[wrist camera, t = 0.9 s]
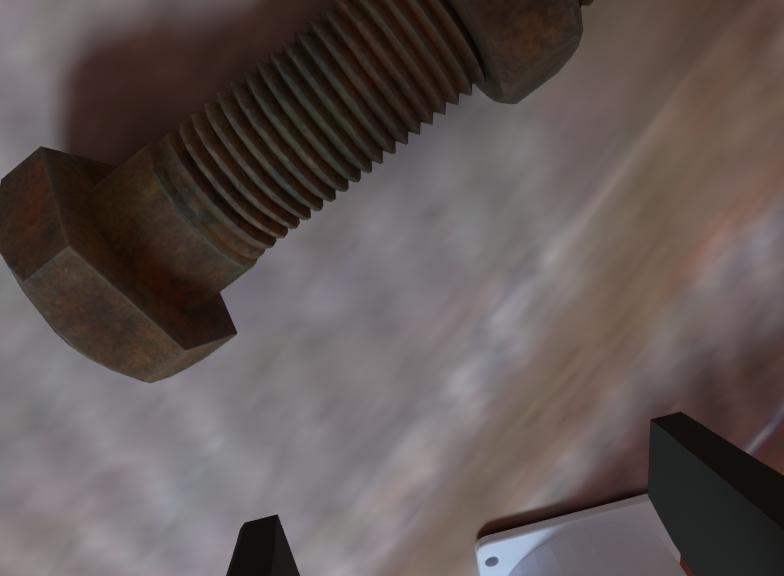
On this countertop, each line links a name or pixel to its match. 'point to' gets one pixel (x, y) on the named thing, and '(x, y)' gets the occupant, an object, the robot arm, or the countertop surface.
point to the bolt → (253, 170)
